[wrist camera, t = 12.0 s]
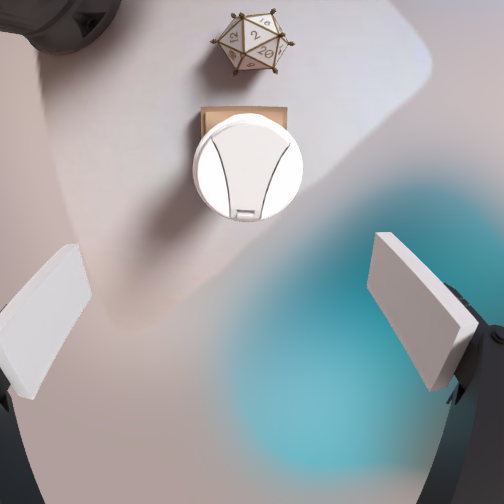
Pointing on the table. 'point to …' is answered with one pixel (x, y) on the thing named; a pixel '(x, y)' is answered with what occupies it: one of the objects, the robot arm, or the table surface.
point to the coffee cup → (247, 168)
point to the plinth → (219, 114)
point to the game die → (253, 42)
